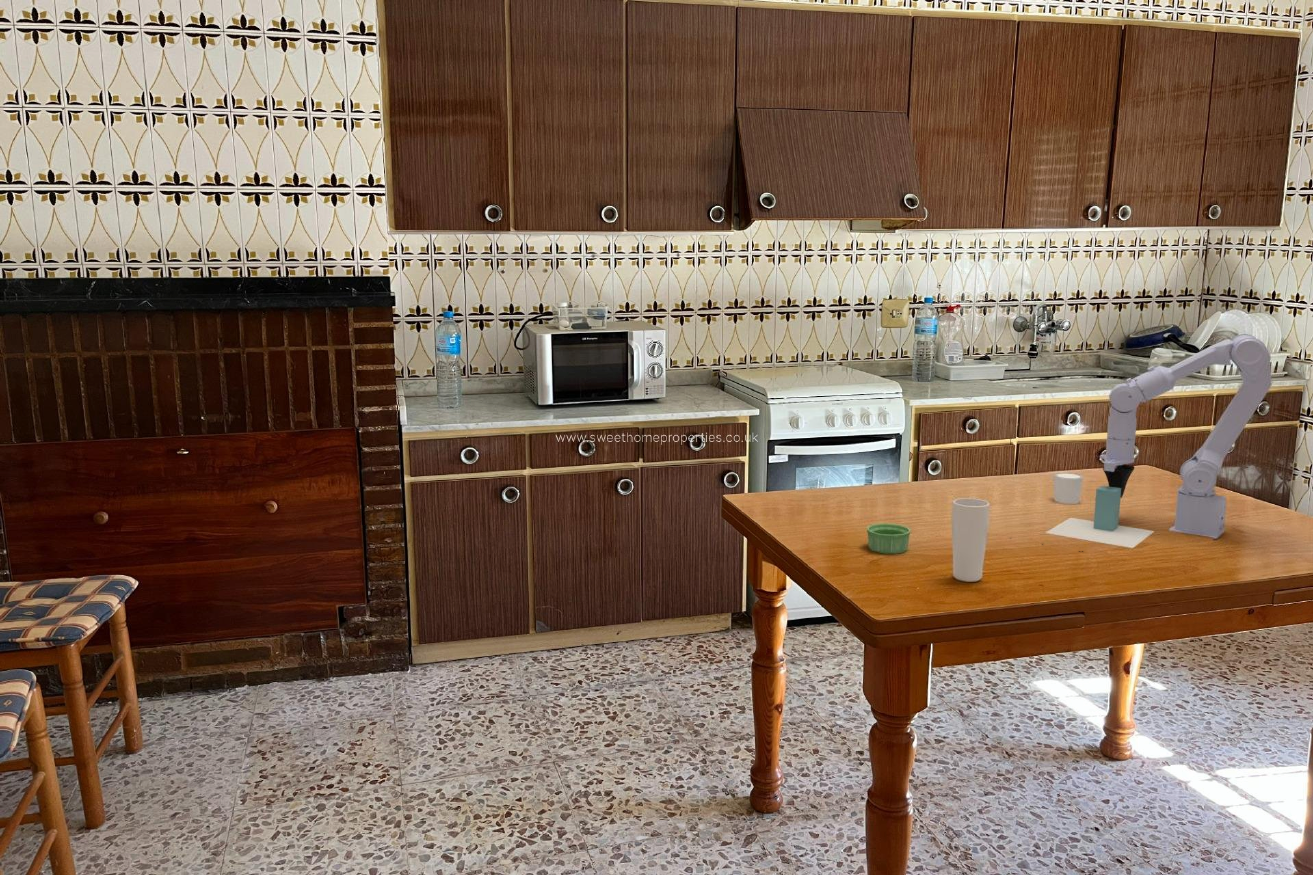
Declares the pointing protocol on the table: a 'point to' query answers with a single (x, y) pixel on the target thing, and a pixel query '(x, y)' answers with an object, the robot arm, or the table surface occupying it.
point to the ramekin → (888, 538)
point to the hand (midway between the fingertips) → (1116, 497)
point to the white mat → (1100, 533)
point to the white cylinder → (1067, 488)
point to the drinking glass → (969, 537)
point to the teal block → (1107, 508)
